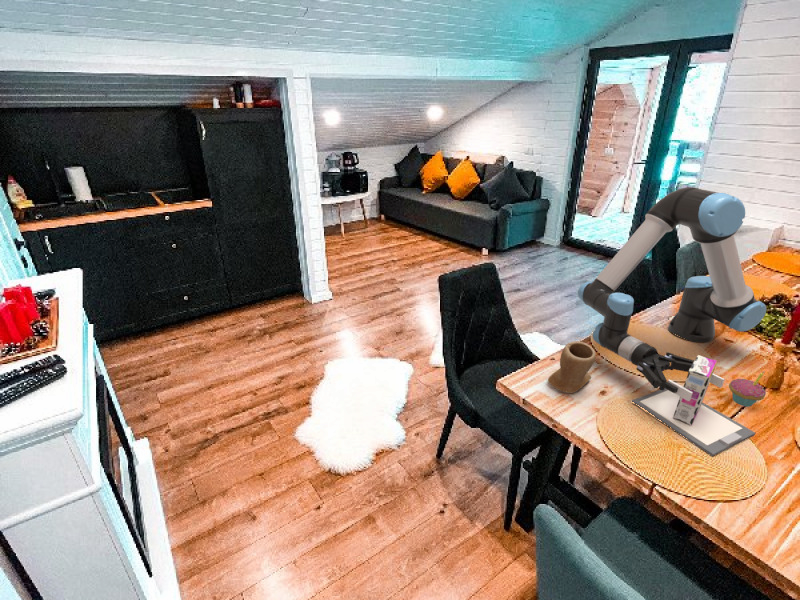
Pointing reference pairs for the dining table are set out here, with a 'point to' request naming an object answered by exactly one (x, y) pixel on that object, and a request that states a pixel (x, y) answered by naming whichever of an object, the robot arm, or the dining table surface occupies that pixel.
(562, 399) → the dining table surface
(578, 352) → the stone cup
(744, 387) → the cupcake
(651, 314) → the dining table surface
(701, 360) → the candy bar box
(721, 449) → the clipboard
